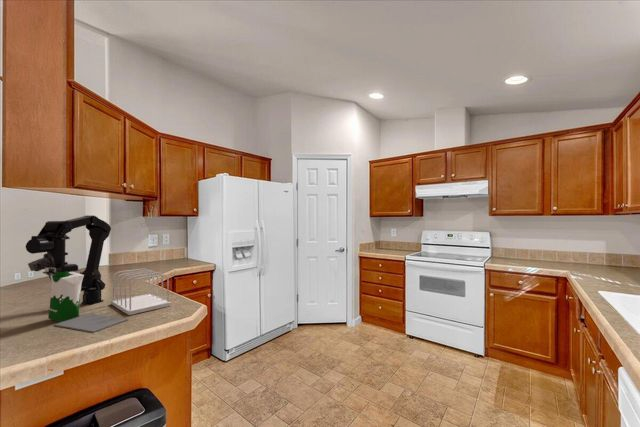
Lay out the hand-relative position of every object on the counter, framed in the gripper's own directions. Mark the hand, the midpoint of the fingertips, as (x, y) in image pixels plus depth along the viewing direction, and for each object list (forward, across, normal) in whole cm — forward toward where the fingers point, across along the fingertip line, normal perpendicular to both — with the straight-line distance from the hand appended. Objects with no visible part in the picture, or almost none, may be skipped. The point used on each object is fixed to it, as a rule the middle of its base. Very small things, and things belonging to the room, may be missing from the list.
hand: (55, 287), depth 121 cm
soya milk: (+12, +5, 0) cm, 13 cm away
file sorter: (+12, +19, +24) cm, 33 cm away
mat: (+12, +22, 0) cm, 25 cm away
